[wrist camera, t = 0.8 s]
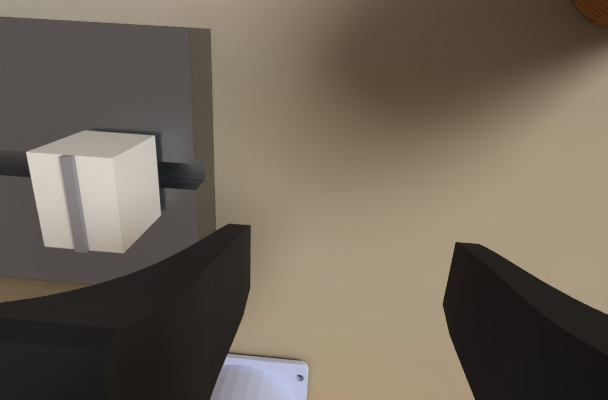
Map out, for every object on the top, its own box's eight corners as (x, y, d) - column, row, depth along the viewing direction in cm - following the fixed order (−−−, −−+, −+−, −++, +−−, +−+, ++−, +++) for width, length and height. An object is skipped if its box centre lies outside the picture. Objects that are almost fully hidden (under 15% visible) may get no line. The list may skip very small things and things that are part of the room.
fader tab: (173, 202, 20) (121, 256, 15) (112, 198, 20) (40, 249, 15) (168, 127, 19) (109, 160, 14) (103, 123, 19) (21, 153, 14)
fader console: (216, 263, 23) (199, 295, 20) (-110, 235, 24) (-170, 262, 21) (210, 28, 19) (187, 27, 16) (-189, 5, 20) (-279, 0, 17)
